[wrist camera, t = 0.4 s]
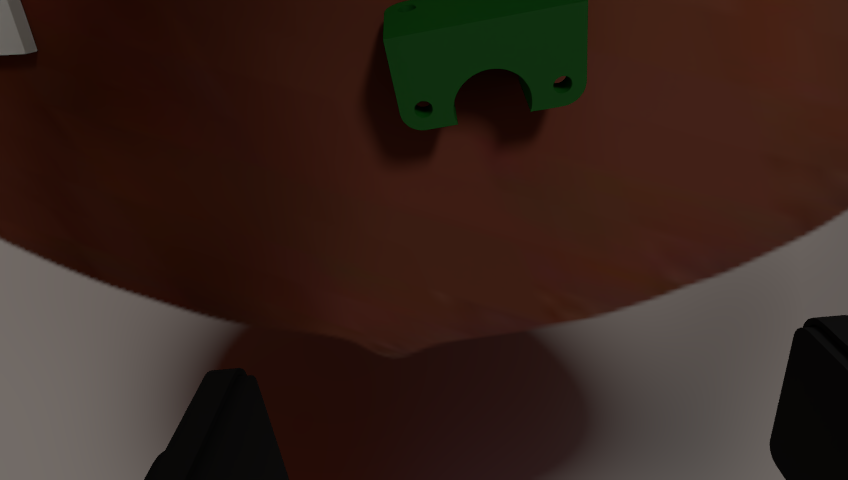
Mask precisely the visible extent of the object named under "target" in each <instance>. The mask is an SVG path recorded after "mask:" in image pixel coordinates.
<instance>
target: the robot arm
mask: <svg viewBox="0 0 848 480" xmlns="http://www.w3.org/2000/svg"><path fill="white" fill-rule="evenodd" d="M770 451H771V455H772V458H773V460H774V462H775V464H776V466H777V467H778V469H779V470H780V472H781V473H782V475H783V476H784V478H785V479H786V480H848V315H841V316H829V317H818V318H811V319H808V320H807V321H806V322H805V323H804V326H803V328H799V329H797V330H796V331H795V334H794V337H793V341H792V346H791V350H790V355H789V360H788V364H787V368H786V372H785V377H784V381H783V386H782V390H781V395H780V399H779V403H778V408H777V412H776V417H775V421H774V425H773V430H772V434H771V439H770ZM144 480H289V479H288V475H287V472H286V469H285V466H284V462H283V459H282V457H281V453H280V450H279V447H278V444H277V441H276V438H275V435H274V432H273V429H272V426H271V423H270V420H269V417H268V413H267V410H266V407H265V404H264V401H263V398H262V395H261V392H260V389H259V386H258V384H257V380H256V378H255V377H254V376H252V375H250V376H247V374H246V372H245V371H244V370H243V369H241V368H235V369H224V370H214V371H213V370H212V371H209V372H207V374H206V375H205V376H204V378H203V380H202V382H201V384H200V386H199V388H198V390H197V391H196V394H195V395H194V397H193V399H192V401H191V403H190V405H189V406H188V408H187V410H186V412H185V414H184V416H183V418H182V420H181V422H180V424H179V425H178V427H177V429H176V431H175V433H174V435H173V437H172V438H171V440H170V442H169V444H168V446H167V448H166V450H165V451H164V452H162V453H161V454H160V455H159V456H158V457H157V458H156V460H155V461H154V463H153V464H152V466H151V468H150V470H149V472H148V474H147V475H146V477H145V479H144Z"/></svg>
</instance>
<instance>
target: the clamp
mask: <svg viewBox="0 0 848 480" xmlns="http://www.w3.org/2000/svg"><path fill="white" fill-rule="evenodd" d="M587 30H588V0H409V1H404V2H400V3H397V4H395V5H392V6H390V7H389V8H387V9H386V10H385V12H384V30H383V42H384V46H385V51H386V55H387V59H388V64H389V68H390V72H391V77H392V81H393V86H394V90H395V94H396V99H397V103H398V108H399V112H400V116H401V118H402V120H403V121H404V123H405V124H406V125H408V126H409V127H411V128H413V129H416V130H429V129H434V128H440V127H446V126H452V125H457V124H458V122H457V115H456V109H455V103H454V100H455V97H456V94H457V92H458V90H459V89H460V87H461V86H462V85H463V84H464V82H465V81H467V80H468V79H469V78H470V77H472V76H473V75H475V74H477V73H479V72H481V71H484V70H488V69H505V70H509V71H512V72H514V73H516V74H518V75H519V82H520V84H521V87H522V90H523V92H524V95H525V98H526V100H527V103H528V106H529V108H530V111H531V112H532V111H537V110H543V109H549V108H555V107H560V106H565V105H568V104H571V103H573V102H574V101H576V100H577V99H578V98H579V97H580V96H581V95H582V93H583V92H584V90H585V87H586V83H587ZM561 76H566V78H565V79H564V80H563V81H562V82H560V83H554V82H555V80H556V79H557V78H559V77H561ZM421 101H427V102H429V103H430V104H429V105H428V106H426V107H420V106H418V105H416V104H417V103H419V102H421Z"/></svg>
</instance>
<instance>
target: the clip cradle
mask: <svg viewBox="0 0 848 480" xmlns="http://www.w3.org/2000/svg"><path fill="white" fill-rule="evenodd" d="M36 51H37V48H36V45H35V42H34V39H33V36H32V33H31V30H30V27H29V24H28V21H27V18H26V15H25V12H24V9H23V7H22V4H21V1H20V0H0V55H16V54H28V53H32V52H36Z"/></svg>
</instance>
